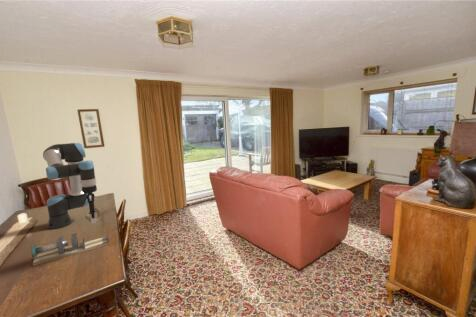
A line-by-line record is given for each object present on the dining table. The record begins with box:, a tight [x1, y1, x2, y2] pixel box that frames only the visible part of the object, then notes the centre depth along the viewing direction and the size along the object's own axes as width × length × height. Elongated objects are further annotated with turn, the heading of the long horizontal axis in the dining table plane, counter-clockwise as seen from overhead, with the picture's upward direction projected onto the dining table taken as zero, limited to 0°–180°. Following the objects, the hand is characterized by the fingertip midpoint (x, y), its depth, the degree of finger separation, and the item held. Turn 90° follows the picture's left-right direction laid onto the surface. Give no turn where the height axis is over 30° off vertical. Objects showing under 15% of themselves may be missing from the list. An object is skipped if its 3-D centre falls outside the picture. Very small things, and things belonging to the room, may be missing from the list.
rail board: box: [32, 235, 110, 266], centre depth 134 cm, size 10×36×2 cm, turn 124°
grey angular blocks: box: [56, 231, 110, 255], centre depth 136 cm, size 10×25×9 cm, turn 124°
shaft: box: [30, 239, 69, 259], centre depth 127 cm, size 16×6×6 cm, turn 124°
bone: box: [84, 206, 102, 223], centre depth 139 cm, size 9×6×10 cm
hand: (93, 221), depth 139 cm, fingers closed on bone, 7 cm apart
